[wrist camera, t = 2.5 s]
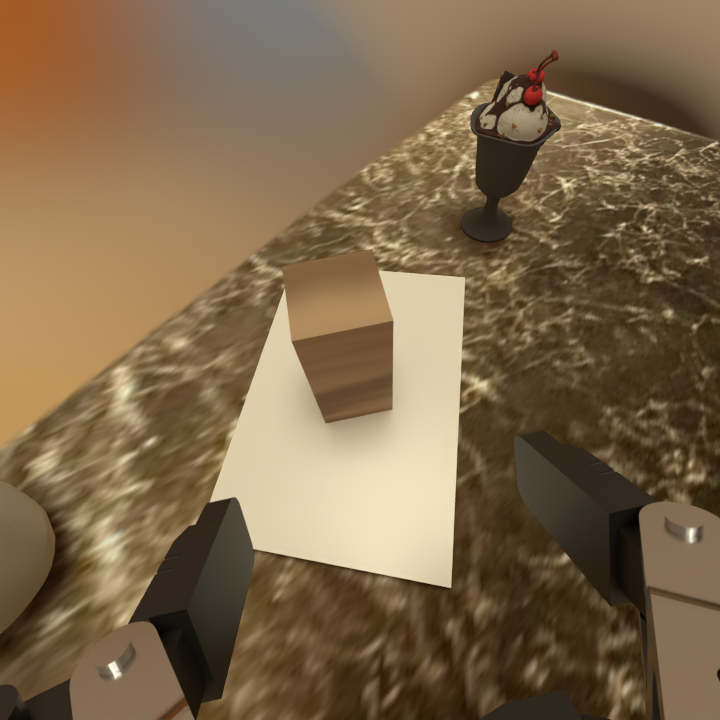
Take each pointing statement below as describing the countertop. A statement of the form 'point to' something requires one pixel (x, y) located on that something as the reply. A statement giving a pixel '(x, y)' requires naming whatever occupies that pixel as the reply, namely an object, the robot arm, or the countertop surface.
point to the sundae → (508, 146)
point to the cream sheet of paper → (358, 448)
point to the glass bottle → (22, 552)
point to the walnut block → (342, 333)
